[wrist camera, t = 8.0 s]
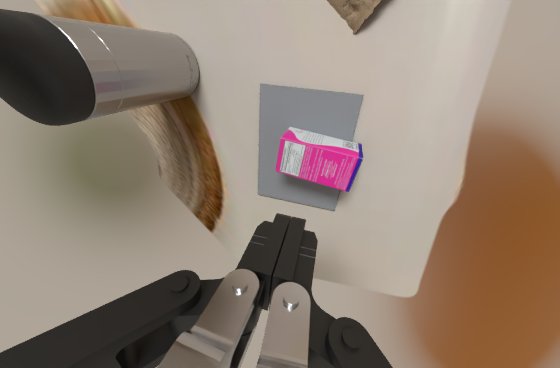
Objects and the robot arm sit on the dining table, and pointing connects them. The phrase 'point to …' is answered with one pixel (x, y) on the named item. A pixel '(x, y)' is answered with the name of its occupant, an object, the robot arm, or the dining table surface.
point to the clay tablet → (354, 11)
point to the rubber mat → (307, 116)
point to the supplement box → (319, 158)
